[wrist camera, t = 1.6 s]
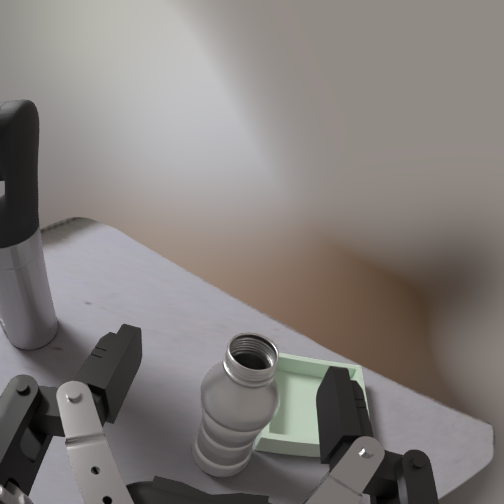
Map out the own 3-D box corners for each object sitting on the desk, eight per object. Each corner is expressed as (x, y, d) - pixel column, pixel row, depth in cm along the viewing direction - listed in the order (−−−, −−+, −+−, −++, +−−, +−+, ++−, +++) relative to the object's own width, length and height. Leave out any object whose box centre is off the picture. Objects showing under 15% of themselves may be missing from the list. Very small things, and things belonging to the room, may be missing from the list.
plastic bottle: (220, 425, 35) (252, 307, 25) (258, 462, 31) (318, 359, 21) (178, 450, 31) (185, 338, 21) (217, 492, 27) (254, 407, 17)
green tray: (254, 450, 33) (261, 437, 31) (263, 367, 45) (269, 350, 43) (359, 458, 33) (373, 446, 31) (350, 381, 45) (360, 365, 43)
